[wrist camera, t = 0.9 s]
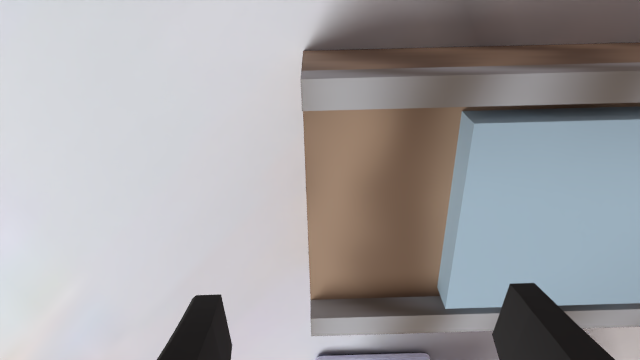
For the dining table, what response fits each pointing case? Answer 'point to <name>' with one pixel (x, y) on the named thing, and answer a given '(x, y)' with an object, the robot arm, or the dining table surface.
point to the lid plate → (544, 207)
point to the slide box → (422, 169)
